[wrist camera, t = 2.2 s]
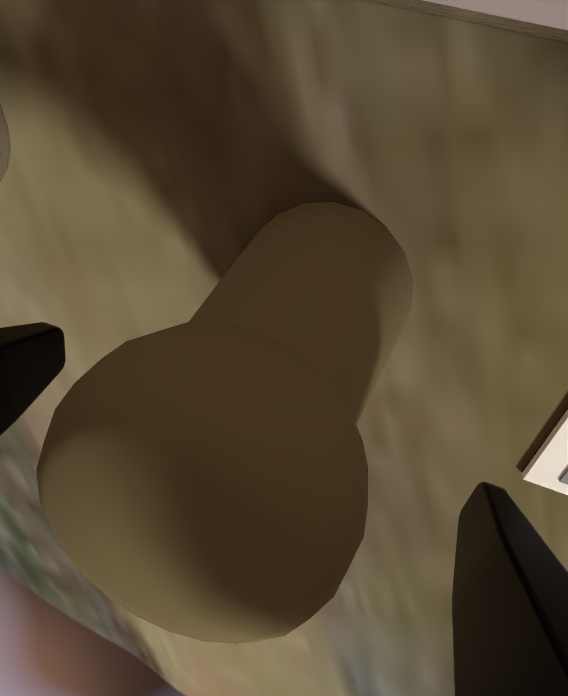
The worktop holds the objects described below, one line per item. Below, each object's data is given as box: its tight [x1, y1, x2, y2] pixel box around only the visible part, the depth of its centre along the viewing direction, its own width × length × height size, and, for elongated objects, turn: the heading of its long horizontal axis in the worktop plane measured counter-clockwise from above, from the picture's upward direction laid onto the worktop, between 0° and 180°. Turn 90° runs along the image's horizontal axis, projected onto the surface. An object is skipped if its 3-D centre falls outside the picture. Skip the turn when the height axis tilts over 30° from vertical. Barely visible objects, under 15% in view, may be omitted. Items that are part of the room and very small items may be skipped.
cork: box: [37, 202, 412, 643], centre depth 10 cm, size 6×6×11 cm
